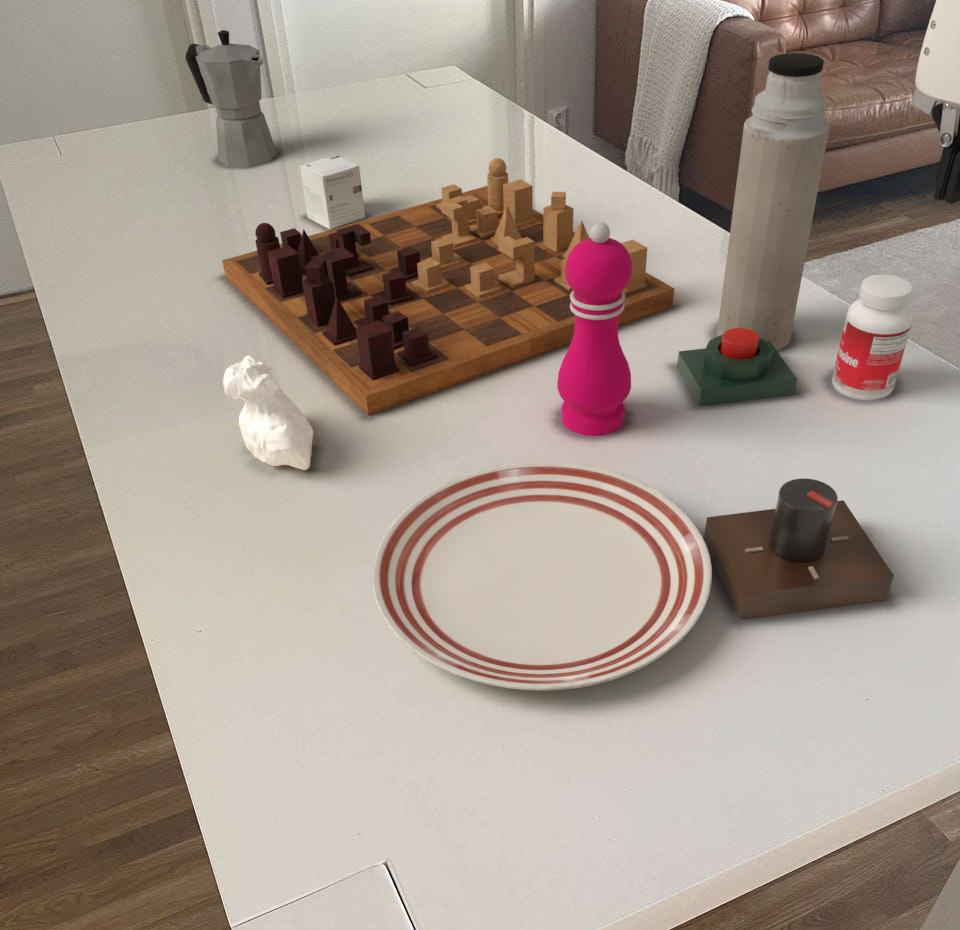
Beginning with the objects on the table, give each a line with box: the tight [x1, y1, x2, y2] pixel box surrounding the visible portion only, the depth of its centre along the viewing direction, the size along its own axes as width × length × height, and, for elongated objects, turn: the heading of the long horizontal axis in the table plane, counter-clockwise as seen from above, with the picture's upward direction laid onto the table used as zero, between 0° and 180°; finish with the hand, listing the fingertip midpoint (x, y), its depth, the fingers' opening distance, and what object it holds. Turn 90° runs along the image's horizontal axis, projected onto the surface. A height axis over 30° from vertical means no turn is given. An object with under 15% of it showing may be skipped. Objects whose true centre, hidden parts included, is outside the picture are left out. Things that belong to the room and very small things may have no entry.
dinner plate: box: [372, 461, 713, 691], centre depth 83 cm, size 27×27×3 cm
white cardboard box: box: [299, 154, 366, 230], centre depth 139 cm, size 6×6×7 cm
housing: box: [676, 335, 798, 407], centre depth 104 cm, size 10×8×4 cm
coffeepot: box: [185, 29, 278, 168], centre depth 154 cm, size 15×9×18 cm, turn 57°
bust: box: [222, 354, 314, 471], centre depth 97 cm, size 12×8×11 cm
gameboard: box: [221, 157, 675, 416], centre depth 120 cm, size 40×40×9 cm
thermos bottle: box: [716, 52, 830, 352], centre depth 102 cm, size 8×8×28 cm
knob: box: [769, 478, 839, 562], centre depth 80 cm, size 4×4×5 cm
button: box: [721, 328, 759, 360], centre depth 102 cm, size 4×4×2 cm
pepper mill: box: [556, 221, 632, 437], centre depth 95 cm, size 7×7×20 cm
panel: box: [703, 499, 895, 621], centre depth 83 cm, size 12×10×3 cm
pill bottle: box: [831, 273, 914, 401], centre depth 100 cm, size 6×6×11 cm
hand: (952, 196), depth 83 cm, fingers closed
